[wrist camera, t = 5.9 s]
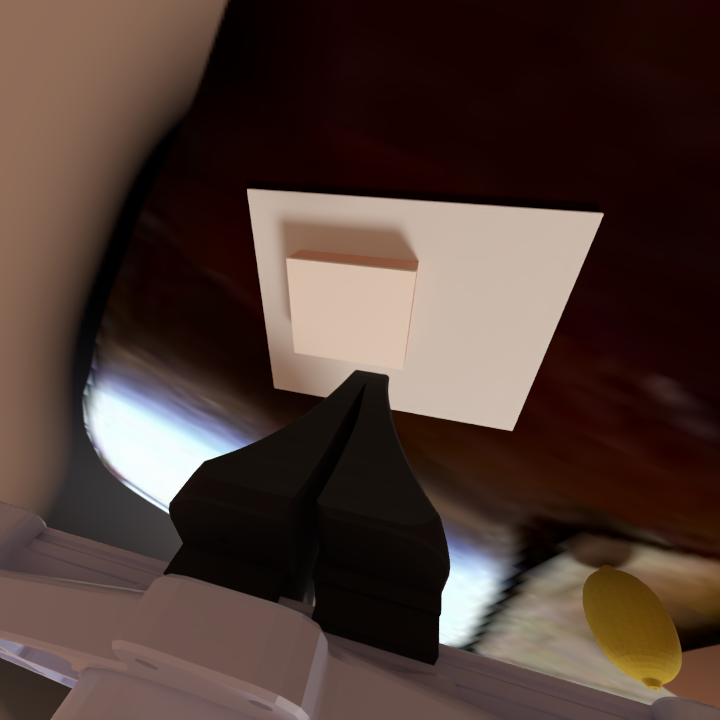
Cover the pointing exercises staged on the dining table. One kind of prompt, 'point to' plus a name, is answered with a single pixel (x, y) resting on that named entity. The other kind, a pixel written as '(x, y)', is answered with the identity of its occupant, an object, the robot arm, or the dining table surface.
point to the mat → (432, 293)
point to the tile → (351, 306)
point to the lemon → (632, 626)
